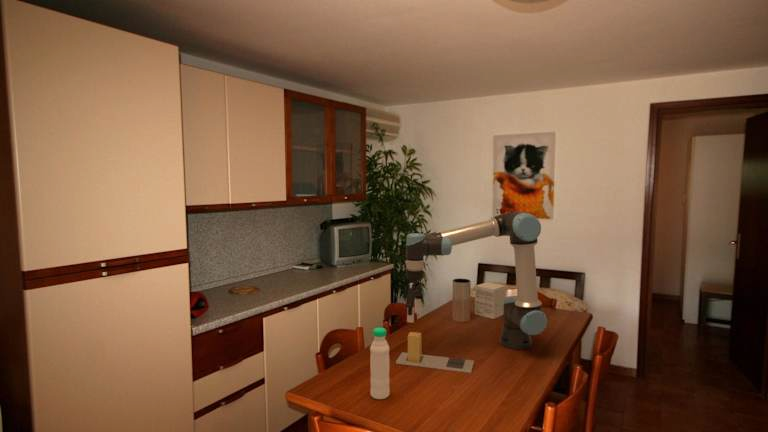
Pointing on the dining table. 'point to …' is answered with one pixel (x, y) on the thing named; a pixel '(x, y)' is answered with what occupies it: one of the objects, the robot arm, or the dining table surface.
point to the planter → (461, 300)
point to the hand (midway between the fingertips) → (414, 317)
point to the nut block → (414, 346)
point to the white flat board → (438, 363)
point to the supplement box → (489, 300)
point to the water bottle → (379, 365)
